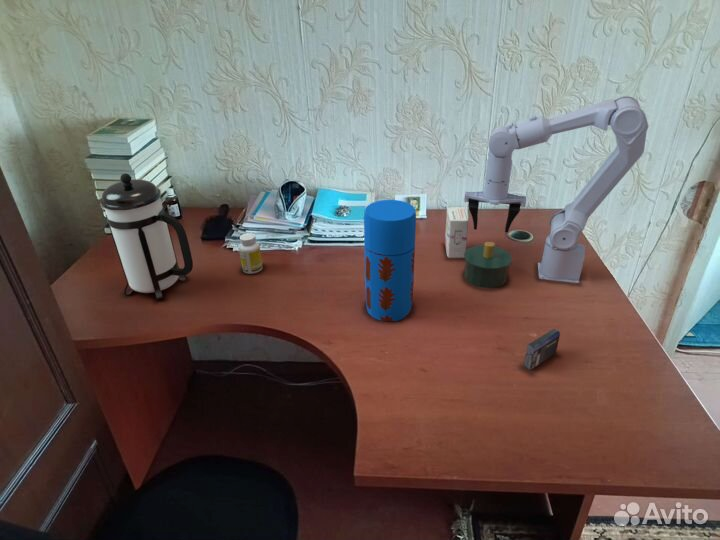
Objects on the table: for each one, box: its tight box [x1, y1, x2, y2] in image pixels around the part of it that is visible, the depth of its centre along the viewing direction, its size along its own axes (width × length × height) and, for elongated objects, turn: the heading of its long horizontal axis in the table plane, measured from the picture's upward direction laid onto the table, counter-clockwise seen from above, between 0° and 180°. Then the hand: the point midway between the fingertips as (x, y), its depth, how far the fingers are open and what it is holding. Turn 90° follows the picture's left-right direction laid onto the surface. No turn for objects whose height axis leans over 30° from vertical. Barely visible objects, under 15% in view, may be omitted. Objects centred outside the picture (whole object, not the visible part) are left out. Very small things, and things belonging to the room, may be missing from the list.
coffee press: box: [99, 173, 194, 302], centre depth 118 cm, size 17×16×30 cm
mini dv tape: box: [523, 328, 561, 371], centre depth 97 cm, size 8×2×6 cm, turn 126°
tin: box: [463, 260, 510, 289], centre depth 124 cm, size 10×10×6 cm
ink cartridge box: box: [444, 201, 469, 259], centre depth 133 cm, size 9×5×15 cm, turn 178°
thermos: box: [363, 199, 417, 322], centre depth 109 cm, size 11×11×25 cm
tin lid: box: [464, 241, 513, 270], centre depth 121 cm, size 11×11×4 cm
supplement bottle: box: [238, 232, 264, 275], centre depth 129 cm, size 5×5×10 cm
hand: (490, 229), depth 126 cm, fingers open, 7 cm apart
